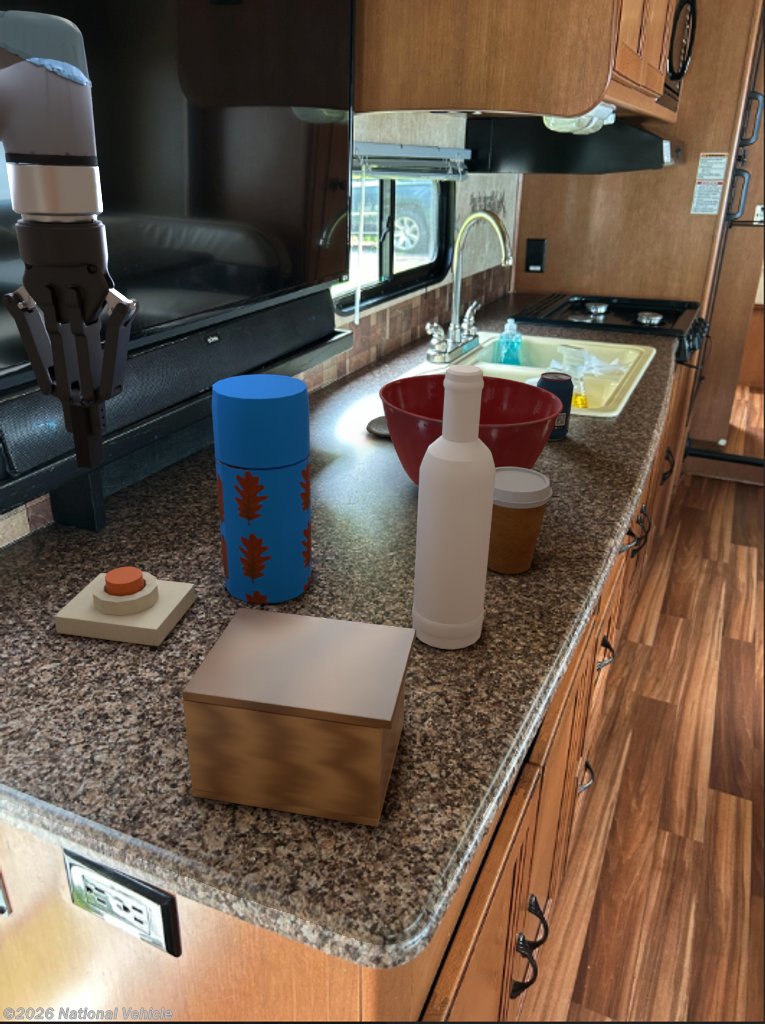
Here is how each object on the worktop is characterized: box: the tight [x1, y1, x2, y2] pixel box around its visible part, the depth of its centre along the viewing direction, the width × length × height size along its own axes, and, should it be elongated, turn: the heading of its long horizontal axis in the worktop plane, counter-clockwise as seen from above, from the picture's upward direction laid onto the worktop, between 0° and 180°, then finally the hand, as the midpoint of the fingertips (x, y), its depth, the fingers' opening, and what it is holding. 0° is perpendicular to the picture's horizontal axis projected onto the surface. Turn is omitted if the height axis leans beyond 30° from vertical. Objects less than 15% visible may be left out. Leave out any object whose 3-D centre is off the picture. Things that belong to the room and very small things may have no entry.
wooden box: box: [182, 679, 406, 828], centre depth 66 cm, size 16×13×10 cm
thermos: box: [211, 373, 313, 605], centre depth 91 cm, size 11×11×25 cm
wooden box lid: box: [181, 607, 417, 729], centre depth 64 cm, size 16×13×1 cm
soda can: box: [536, 371, 575, 442], centre depth 148 cm, size 7×7×12 cm
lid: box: [365, 415, 391, 438], centre depth 149 cm, size 11×10×5 cm
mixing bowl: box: [378, 373, 563, 487], centre depth 122 cm, size 28×28×16 cm
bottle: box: [411, 364, 496, 650], centre depth 81 cm, size 8×8×30 cm
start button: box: [105, 566, 144, 596], centre depth 86 cm, size 4×4×2 cm
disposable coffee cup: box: [487, 467, 553, 575], centre depth 100 cm, size 10×10×12 cm
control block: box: [53, 571, 197, 647], centre depth 87 cm, size 12×10×4 cm
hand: (91, 462), depth 79 cm, fingers closed
